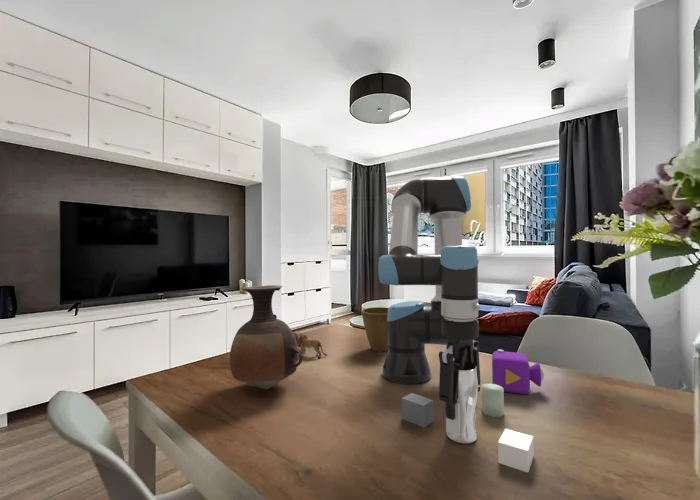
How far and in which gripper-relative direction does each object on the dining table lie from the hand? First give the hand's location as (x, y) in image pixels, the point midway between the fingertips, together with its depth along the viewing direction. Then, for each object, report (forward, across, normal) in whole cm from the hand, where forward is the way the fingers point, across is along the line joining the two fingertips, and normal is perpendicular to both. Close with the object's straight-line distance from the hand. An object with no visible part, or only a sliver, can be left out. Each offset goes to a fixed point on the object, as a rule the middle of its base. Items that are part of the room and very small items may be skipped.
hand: (461, 426), depth 72 cm
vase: (+3, -15, +54) cm, 56 cm away
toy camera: (+3, +35, +1) cm, 35 cm away
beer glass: (+2, 0, 0) cm, 2 cm away
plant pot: (+3, +39, +55) cm, 67 cm away
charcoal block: (+2, 0, +11) cm, 11 cm away
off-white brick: (+2, 0, -11) cm, 11 cm away
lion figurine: (+3, +14, +70) cm, 72 cm away
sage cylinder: (+2, +16, 0) cm, 16 cm away
